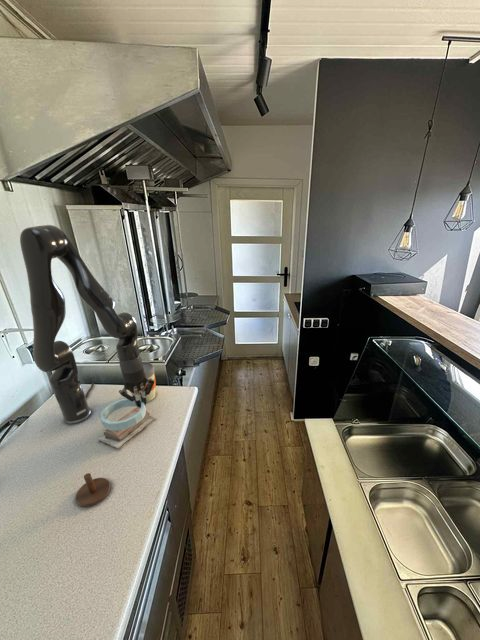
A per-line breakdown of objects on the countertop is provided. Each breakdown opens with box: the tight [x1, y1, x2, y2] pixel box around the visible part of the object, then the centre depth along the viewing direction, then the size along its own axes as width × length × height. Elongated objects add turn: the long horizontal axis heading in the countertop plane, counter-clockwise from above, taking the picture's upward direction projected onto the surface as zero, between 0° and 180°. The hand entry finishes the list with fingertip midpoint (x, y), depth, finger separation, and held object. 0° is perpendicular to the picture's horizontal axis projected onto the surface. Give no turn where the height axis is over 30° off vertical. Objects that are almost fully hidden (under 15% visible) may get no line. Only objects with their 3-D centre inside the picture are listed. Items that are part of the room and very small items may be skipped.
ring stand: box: [75, 472, 111, 508], centre depth 85 cm, size 9×9×8 cm
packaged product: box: [98, 407, 155, 450], centre depth 110 cm, size 18×5×10 cm
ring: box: [99, 398, 147, 431], centre depth 108 cm, size 15×15×3 cm
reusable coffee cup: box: [130, 361, 157, 403], centre depth 128 cm, size 13×13×15 cm
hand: (141, 405), depth 112 cm, fingers closed on ring, 1 cm apart
